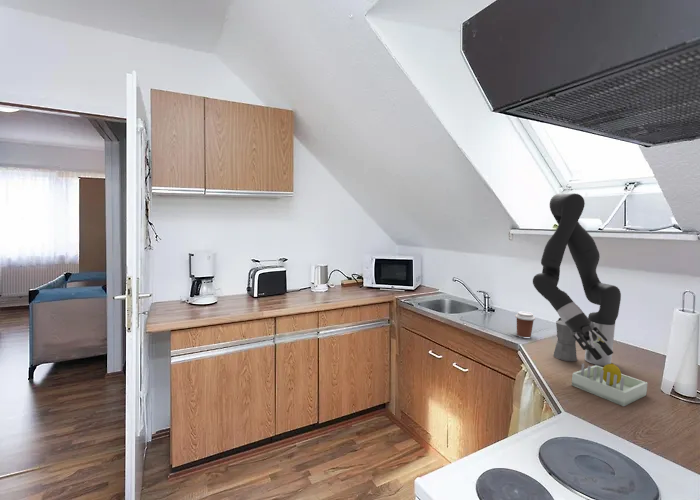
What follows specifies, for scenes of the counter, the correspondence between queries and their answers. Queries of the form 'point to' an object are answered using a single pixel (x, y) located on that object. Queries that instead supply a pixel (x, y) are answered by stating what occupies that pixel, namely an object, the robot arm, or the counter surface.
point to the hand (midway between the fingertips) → (605, 356)
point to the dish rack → (616, 393)
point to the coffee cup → (524, 323)
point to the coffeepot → (565, 342)
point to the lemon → (611, 373)
